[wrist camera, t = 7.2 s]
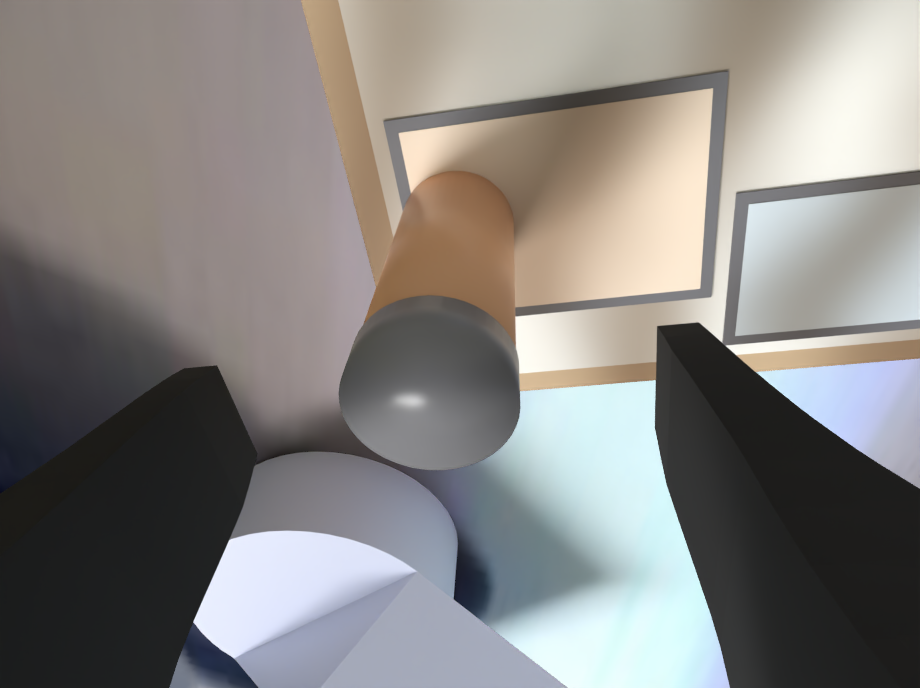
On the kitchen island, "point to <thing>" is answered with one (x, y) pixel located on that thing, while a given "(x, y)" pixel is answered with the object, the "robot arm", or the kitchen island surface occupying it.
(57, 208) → the kitchen island surface
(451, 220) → the marker
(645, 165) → the cream board
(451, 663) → the wedge on round base
